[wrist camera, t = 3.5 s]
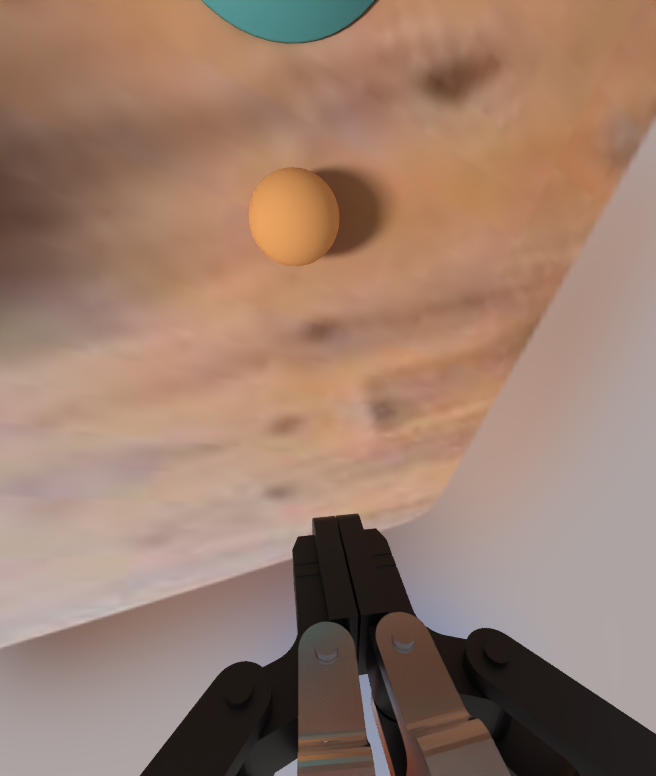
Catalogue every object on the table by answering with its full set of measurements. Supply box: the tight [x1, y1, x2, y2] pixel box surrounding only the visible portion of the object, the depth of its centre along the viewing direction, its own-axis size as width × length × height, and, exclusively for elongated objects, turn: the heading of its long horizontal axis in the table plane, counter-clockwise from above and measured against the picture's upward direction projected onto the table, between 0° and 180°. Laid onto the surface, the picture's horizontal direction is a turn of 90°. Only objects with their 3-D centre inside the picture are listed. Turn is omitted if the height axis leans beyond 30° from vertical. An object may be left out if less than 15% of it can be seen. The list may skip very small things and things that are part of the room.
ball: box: [249, 167, 340, 266], centre depth 22 cm, size 5×5×5 cm
